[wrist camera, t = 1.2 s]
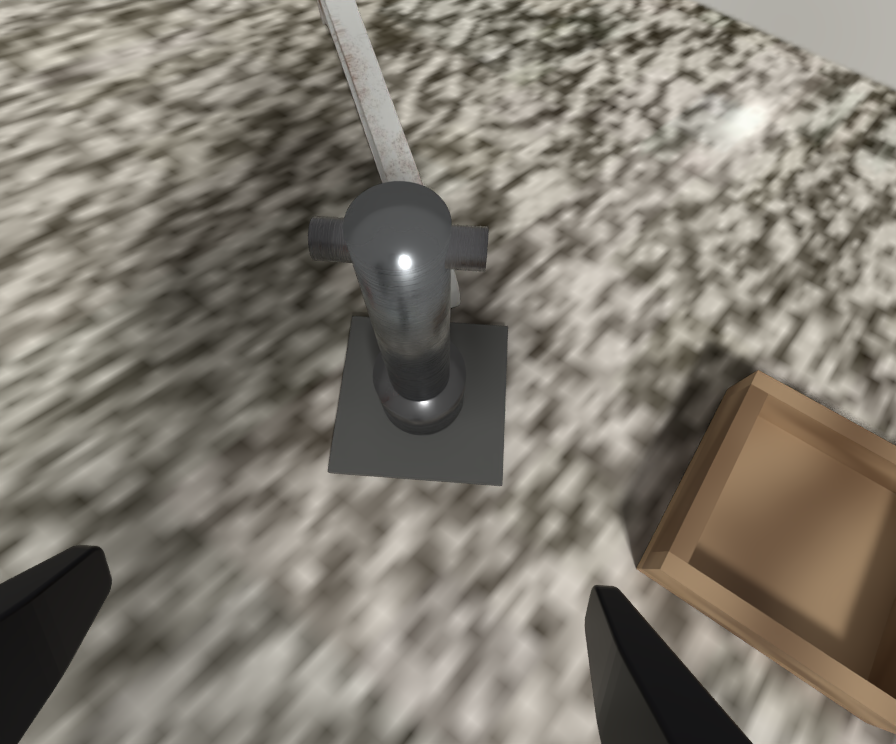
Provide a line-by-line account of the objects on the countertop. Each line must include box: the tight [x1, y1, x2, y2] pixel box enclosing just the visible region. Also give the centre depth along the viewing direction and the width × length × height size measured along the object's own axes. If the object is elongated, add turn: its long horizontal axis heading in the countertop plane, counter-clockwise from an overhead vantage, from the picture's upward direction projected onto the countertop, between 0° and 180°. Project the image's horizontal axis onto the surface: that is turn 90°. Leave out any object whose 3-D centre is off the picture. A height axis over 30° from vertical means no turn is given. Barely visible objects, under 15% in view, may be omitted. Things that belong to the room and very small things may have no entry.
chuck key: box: [308, 181, 488, 435], centre depth 18 cm, size 4×4×13 cm
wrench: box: [317, 0, 460, 308], centre depth 29 cm, size 8×2×30 cm
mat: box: [328, 316, 508, 486], centre depth 24 cm, size 8×8×1 cm
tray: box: [636, 370, 896, 734], centre depth 21 cm, size 10×10×3 cm
